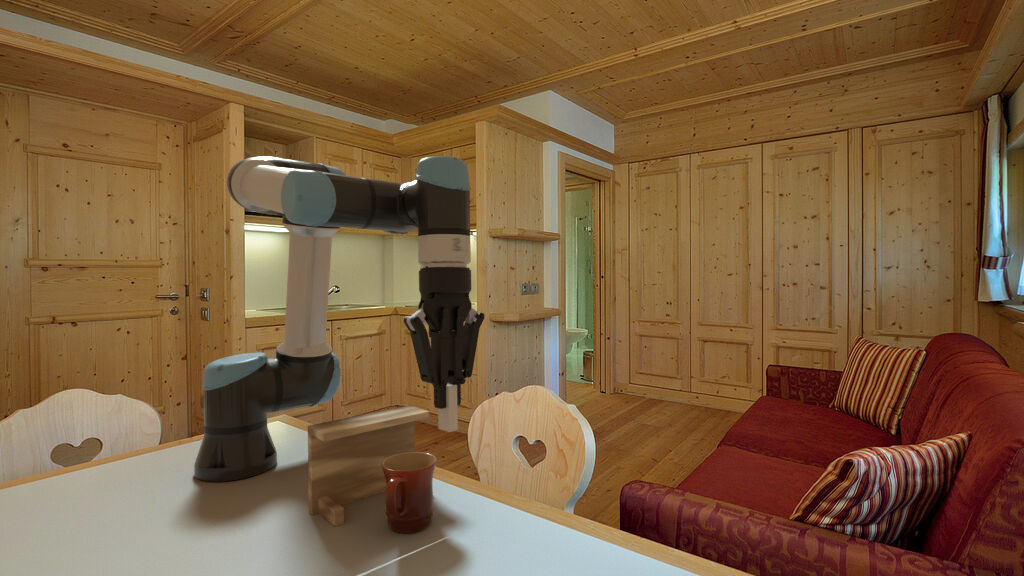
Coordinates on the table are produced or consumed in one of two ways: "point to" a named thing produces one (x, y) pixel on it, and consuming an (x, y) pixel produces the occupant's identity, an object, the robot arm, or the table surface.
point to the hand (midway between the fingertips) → (448, 429)
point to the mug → (409, 490)
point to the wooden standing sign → (355, 457)
